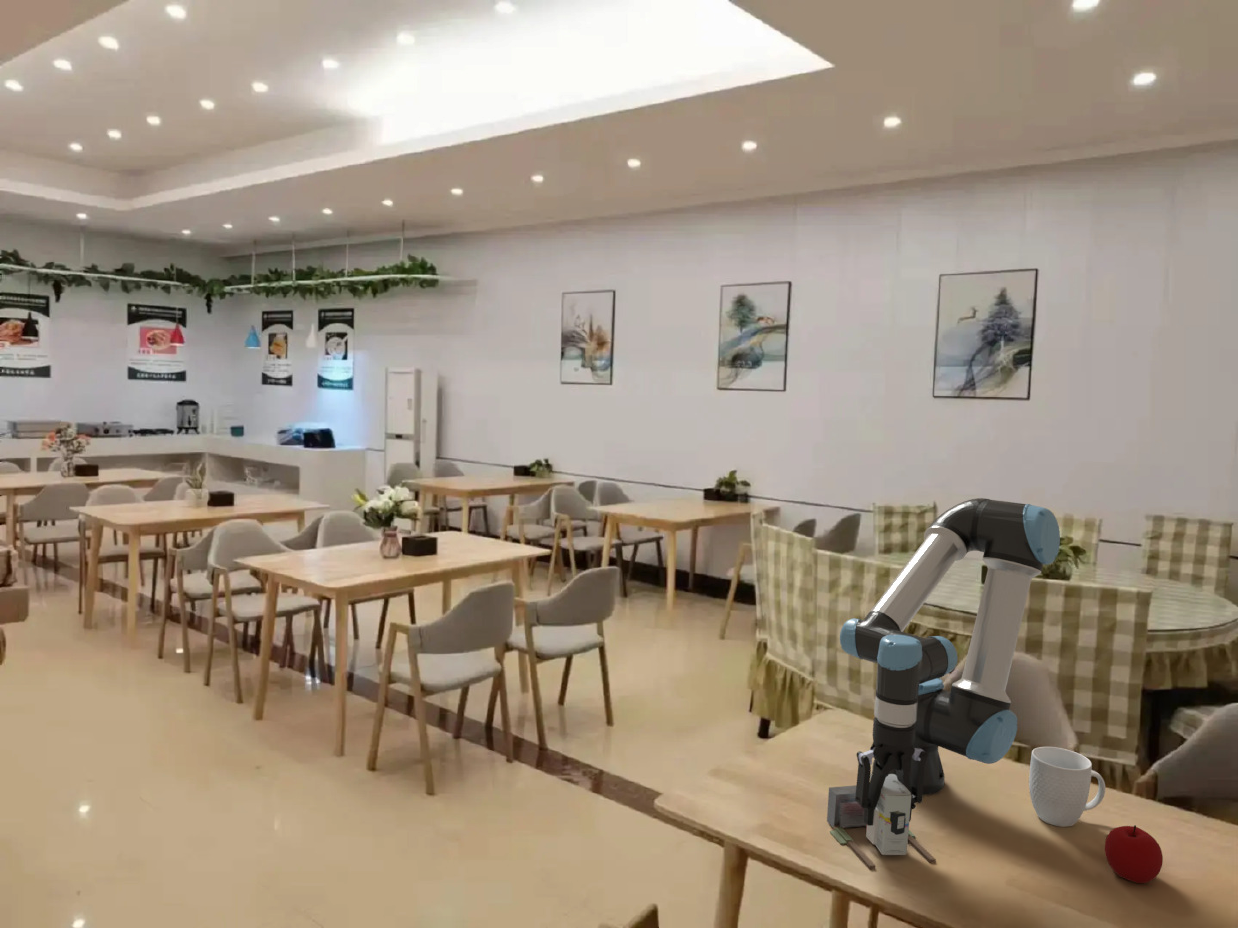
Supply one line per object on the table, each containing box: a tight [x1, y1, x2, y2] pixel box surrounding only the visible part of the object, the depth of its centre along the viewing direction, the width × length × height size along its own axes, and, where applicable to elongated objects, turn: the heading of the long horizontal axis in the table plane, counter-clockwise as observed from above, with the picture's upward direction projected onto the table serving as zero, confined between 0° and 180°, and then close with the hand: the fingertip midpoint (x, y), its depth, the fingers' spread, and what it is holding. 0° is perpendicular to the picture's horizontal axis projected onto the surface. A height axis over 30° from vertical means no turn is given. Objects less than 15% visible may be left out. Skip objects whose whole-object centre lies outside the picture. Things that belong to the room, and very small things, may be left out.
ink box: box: [865, 773, 911, 856], centre depth 163 cm, size 9×5×12 cm, turn 5°
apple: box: [1104, 825, 1164, 884], centre depth 157 cm, size 9×9×10 cm
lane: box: [829, 826, 937, 870], centre depth 165 cm, size 16×14×1 cm
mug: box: [1028, 746, 1106, 828], centre depth 177 cm, size 15×11×13 cm
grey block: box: [826, 784, 866, 829], centre depth 172 cm, size 13×4×7 cm, turn 103°
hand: (886, 838), depth 164 cm, fingers closed on ink box, 5 cm apart
